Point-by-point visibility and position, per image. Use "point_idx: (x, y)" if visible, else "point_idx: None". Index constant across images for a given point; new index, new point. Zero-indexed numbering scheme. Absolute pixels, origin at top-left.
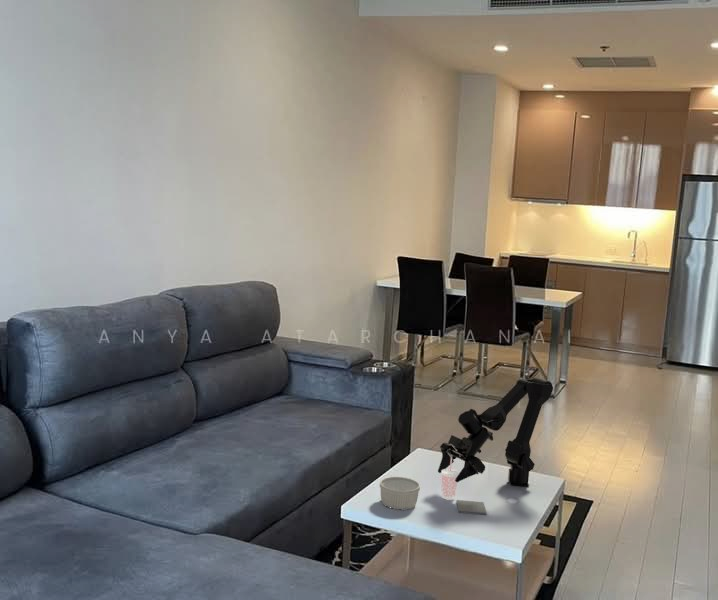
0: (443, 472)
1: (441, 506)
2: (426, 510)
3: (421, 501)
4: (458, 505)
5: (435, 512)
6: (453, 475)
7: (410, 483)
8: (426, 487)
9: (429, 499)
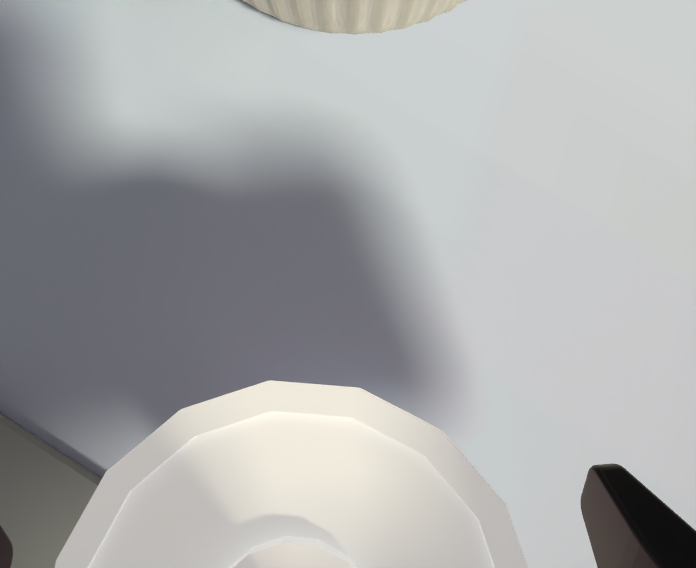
0: (314, 412)
1: (119, 257)
2: (99, 50)
3: (319, 126)
4: (3, 436)
5: (17, 107)
6: (59, 563)
7: None
8: (679, 415)
9: (337, 239)
